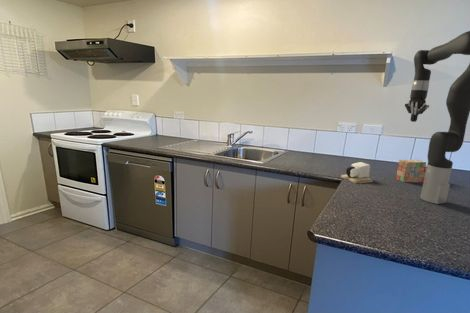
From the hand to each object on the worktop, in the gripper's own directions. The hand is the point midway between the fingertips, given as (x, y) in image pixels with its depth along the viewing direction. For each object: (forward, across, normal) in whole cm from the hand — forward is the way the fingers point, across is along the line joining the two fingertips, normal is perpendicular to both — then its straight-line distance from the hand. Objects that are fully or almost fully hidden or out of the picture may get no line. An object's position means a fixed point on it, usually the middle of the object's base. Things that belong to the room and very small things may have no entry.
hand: (413, 121), depth 150 cm
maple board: (+35, -9, -25) cm, 44 cm away
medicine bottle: (+29, -10, -18) cm, 36 cm away
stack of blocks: (+35, +1, +10) cm, 37 cm away
